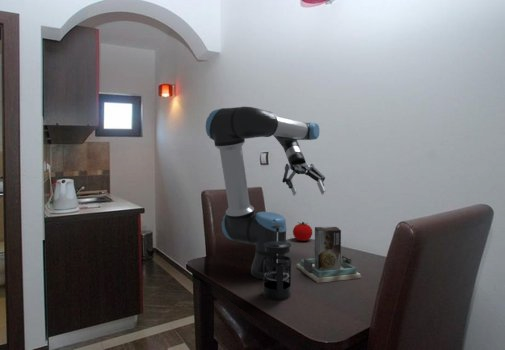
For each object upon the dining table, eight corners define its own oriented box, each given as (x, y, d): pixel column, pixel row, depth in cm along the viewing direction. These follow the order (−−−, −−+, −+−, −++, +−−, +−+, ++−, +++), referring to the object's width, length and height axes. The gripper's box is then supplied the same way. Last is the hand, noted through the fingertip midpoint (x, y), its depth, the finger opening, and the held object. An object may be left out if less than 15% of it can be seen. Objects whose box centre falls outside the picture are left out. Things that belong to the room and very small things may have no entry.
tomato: (305, 244, 181) (305, 225, 181) (288, 240, 188) (289, 222, 188) (316, 240, 189) (316, 222, 188) (300, 237, 196) (300, 219, 196)
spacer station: (317, 282, 126) (317, 268, 126) (296, 267, 144) (297, 254, 143) (360, 278, 132) (361, 263, 131) (335, 263, 149) (335, 251, 149)
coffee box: (336, 266, 141) (336, 226, 140) (341, 271, 135) (341, 229, 134) (313, 266, 141) (314, 226, 140) (317, 271, 134) (318, 230, 133)
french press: (260, 288, 121) (261, 222, 119) (287, 287, 122) (288, 222, 120) (265, 303, 109) (265, 230, 108) (294, 302, 110) (295, 229, 109)
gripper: (316, 163, 172) (331, 197, 158) (268, 163, 164) (280, 199, 151) (322, 152, 166) (338, 186, 153) (272, 152, 159) (285, 188, 145)
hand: (309, 193), depth 152 cm, fingers open, 13 cm apart
